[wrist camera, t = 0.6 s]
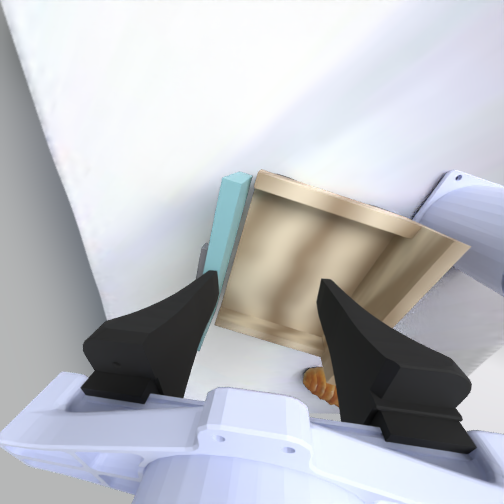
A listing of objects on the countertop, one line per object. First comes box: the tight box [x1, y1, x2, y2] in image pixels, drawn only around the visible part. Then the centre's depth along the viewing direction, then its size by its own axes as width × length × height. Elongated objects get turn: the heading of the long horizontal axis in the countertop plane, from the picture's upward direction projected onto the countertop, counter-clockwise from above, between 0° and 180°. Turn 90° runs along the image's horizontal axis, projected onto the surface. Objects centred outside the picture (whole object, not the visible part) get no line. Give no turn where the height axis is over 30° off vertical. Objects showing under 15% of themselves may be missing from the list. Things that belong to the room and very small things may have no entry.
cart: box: [215, 169, 471, 386], centre depth 20 cm, size 15×18×8 cm
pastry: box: [303, 367, 339, 407], centre depth 32 cm, size 9×7×4 cm
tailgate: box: [196, 172, 252, 351], centre depth 18 cm, size 2×17×6 cm, turn 164°
